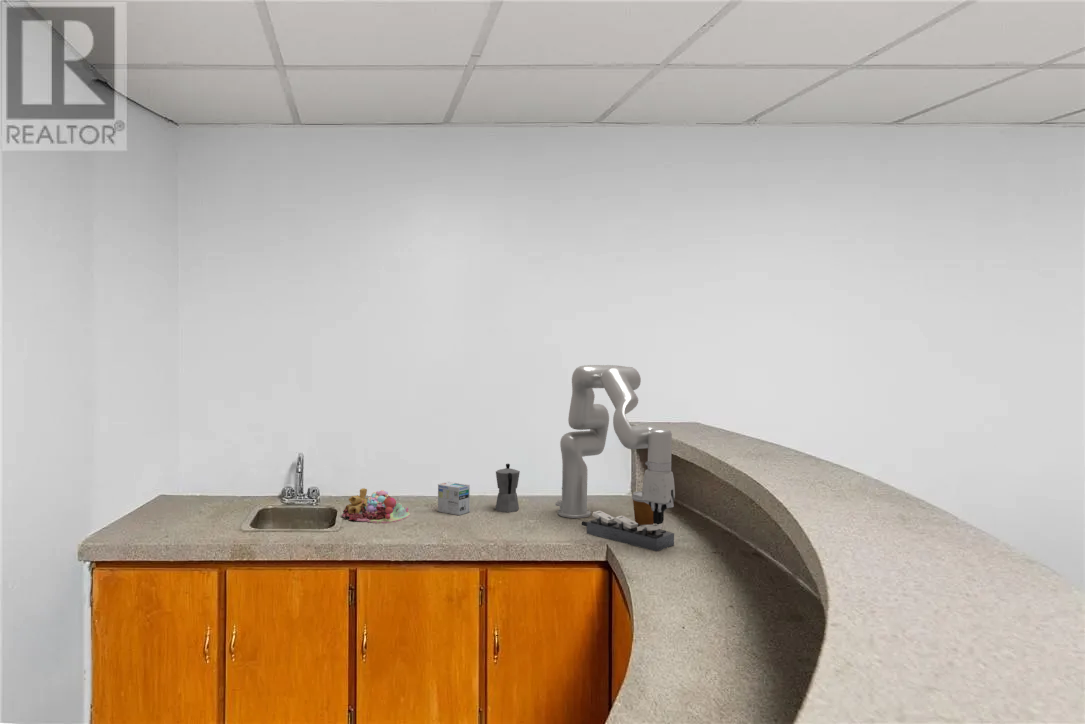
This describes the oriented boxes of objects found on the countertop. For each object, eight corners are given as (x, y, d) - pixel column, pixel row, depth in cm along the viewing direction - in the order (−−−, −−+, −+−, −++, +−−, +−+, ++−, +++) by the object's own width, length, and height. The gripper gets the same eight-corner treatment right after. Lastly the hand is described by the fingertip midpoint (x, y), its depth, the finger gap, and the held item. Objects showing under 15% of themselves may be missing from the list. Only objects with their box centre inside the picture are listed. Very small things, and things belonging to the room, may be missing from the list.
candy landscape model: (332, 521, 272) (332, 496, 271) (356, 506, 295) (356, 483, 295) (399, 525, 269) (399, 499, 268) (418, 509, 292) (418, 486, 291)
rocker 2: (613, 520, 254) (614, 517, 253) (621, 518, 257) (622, 515, 257) (629, 529, 249) (630, 525, 249) (637, 526, 252) (638, 523, 252)
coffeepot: (493, 505, 299) (494, 460, 298) (517, 505, 301) (517, 460, 300) (497, 515, 284) (498, 467, 283) (522, 514, 285) (523, 467, 285)
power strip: (573, 530, 265) (573, 513, 265) (591, 525, 272) (592, 508, 272) (656, 551, 241) (656, 532, 241) (673, 545, 248) (674, 527, 248)
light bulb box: (470, 512, 288) (470, 484, 288) (458, 515, 282) (459, 487, 282) (448, 508, 294) (448, 480, 293) (437, 511, 288) (437, 483, 288)
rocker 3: (637, 530, 247) (636, 526, 247) (644, 528, 250) (644, 524, 250) (654, 530, 242) (653, 526, 242) (662, 527, 246) (661, 524, 246)
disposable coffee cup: (656, 531, 265) (657, 497, 265) (629, 529, 267) (630, 495, 267) (658, 524, 275) (659, 491, 274) (632, 522, 277) (632, 490, 276)
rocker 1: (591, 515, 260) (592, 512, 260) (599, 513, 263) (600, 510, 263) (607, 523, 256) (608, 520, 255) (615, 521, 259) (616, 517, 259)
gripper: (633, 465, 246) (632, 521, 246) (672, 471, 235) (671, 529, 236) (647, 462, 251) (646, 517, 252) (685, 468, 241) (684, 525, 241)
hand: (658, 523), depth 244 cm, fingers closed
